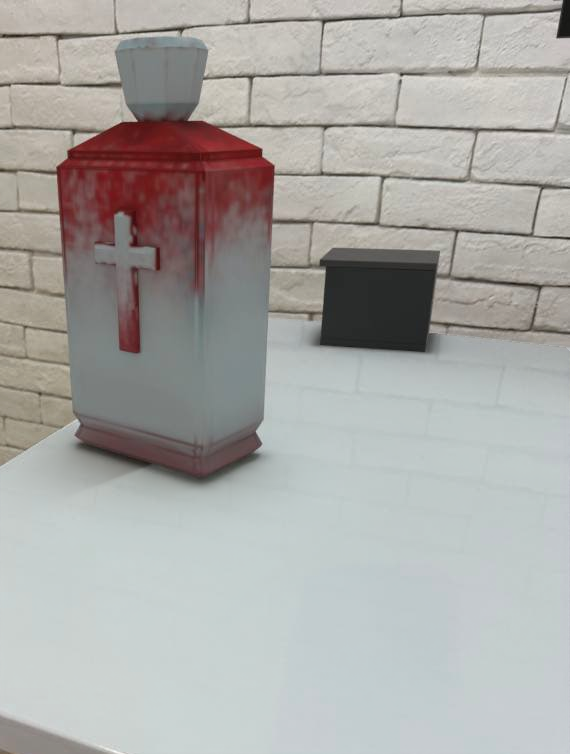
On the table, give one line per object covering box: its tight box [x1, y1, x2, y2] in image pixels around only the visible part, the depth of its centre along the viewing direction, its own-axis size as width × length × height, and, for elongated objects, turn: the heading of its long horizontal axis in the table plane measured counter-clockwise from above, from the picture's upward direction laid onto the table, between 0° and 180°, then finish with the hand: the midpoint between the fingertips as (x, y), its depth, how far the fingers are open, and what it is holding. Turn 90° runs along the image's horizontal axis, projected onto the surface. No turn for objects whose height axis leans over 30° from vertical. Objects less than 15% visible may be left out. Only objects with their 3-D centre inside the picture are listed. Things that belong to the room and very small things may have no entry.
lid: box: [318, 247, 441, 270], centre depth 100 cm, size 13×11×1 cm
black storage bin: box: [319, 259, 440, 352], centre depth 102 cm, size 13×11×9 cm
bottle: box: [55, 35, 276, 480], centre depth 63 cm, size 14×10×30 cm
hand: (564, 36), depth 86 cm, fingers closed
